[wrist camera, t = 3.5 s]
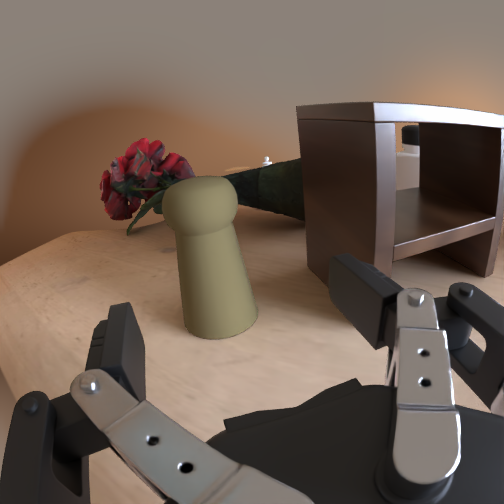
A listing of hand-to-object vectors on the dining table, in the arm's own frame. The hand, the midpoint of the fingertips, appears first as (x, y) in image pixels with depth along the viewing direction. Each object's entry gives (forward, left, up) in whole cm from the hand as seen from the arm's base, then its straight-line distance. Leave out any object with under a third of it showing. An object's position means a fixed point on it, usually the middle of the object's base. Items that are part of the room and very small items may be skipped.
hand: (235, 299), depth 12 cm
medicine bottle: (-39, -31, -8) cm, 51 cm away
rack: (-18, -10, -8) cm, 22 cm away
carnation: (-3, -37, -8) cm, 38 cm away
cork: (0, -11, -8) cm, 14 cm away
